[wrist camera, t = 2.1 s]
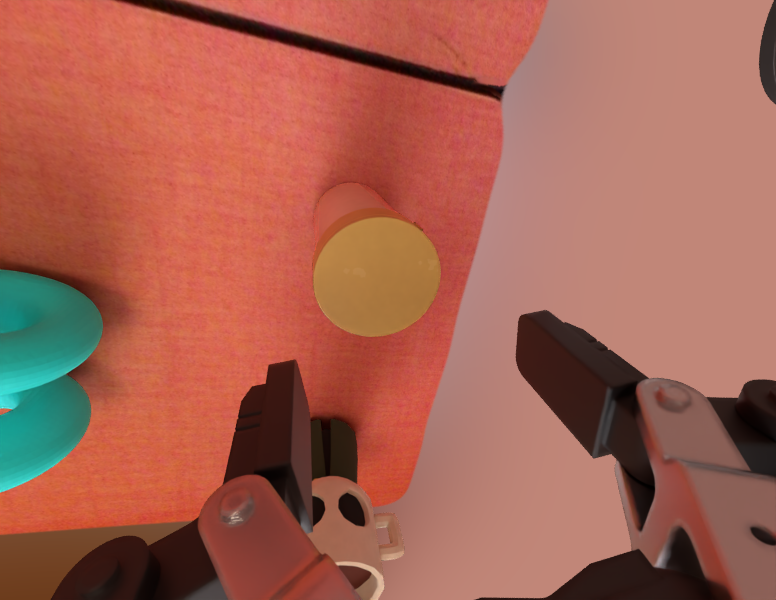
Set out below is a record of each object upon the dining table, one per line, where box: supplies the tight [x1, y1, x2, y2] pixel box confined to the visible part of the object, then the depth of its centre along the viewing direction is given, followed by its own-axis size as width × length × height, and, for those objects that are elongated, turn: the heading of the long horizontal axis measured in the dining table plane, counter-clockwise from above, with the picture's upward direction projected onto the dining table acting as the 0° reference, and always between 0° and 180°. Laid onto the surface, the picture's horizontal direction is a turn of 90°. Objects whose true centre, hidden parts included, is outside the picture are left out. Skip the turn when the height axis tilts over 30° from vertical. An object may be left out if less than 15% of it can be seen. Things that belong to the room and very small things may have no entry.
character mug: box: [307, 419, 404, 600], centre depth 29 cm, size 11×7×13 cm, turn 82°
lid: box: [312, 208, 441, 337], centre depth 17 cm, size 6×6×2 cm
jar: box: [313, 183, 396, 248], centre depth 21 cm, size 5×5×11 cm
